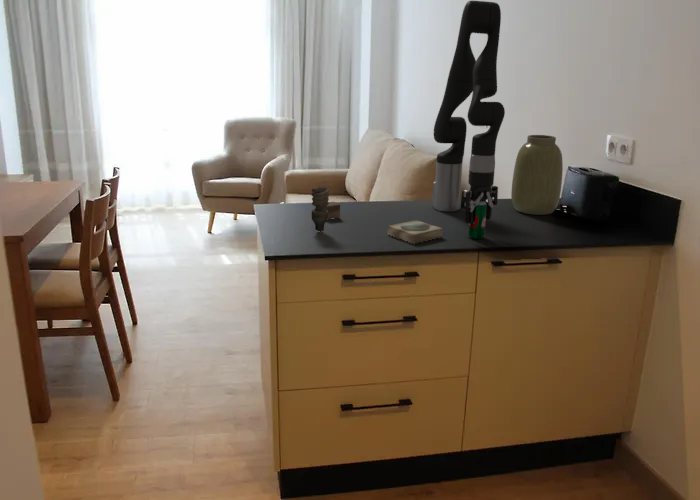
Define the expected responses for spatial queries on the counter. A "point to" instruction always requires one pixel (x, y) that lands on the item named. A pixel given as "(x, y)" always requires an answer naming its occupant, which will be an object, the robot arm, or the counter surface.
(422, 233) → the pedestal
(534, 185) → the vase
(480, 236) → the soda can
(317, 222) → the light bulb
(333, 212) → the walnut cube
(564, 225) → the counter surface
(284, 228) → the counter surface
